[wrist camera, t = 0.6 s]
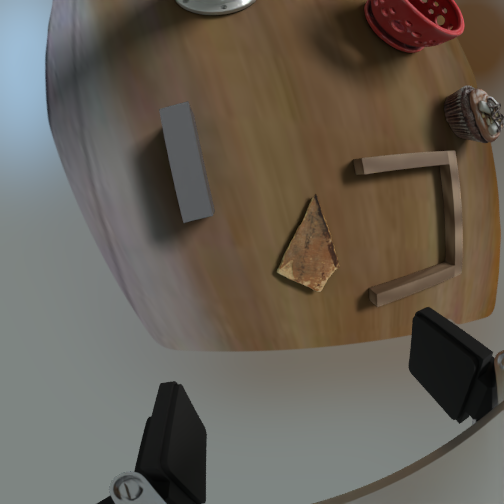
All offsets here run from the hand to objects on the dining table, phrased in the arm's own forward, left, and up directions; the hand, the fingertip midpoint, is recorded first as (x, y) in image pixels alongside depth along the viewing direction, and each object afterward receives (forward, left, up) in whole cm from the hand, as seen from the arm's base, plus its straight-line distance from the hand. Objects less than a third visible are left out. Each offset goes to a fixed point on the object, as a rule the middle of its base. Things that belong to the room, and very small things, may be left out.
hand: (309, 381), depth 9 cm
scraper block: (-11, -5, -26) cm, 28 cm away
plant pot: (-30, +29, -26) cm, 49 cm away
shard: (+2, +6, -26) cm, 27 cm away
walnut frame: (+2, +23, -25) cm, 35 cm away
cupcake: (-14, +39, -26) cm, 49 cm away
